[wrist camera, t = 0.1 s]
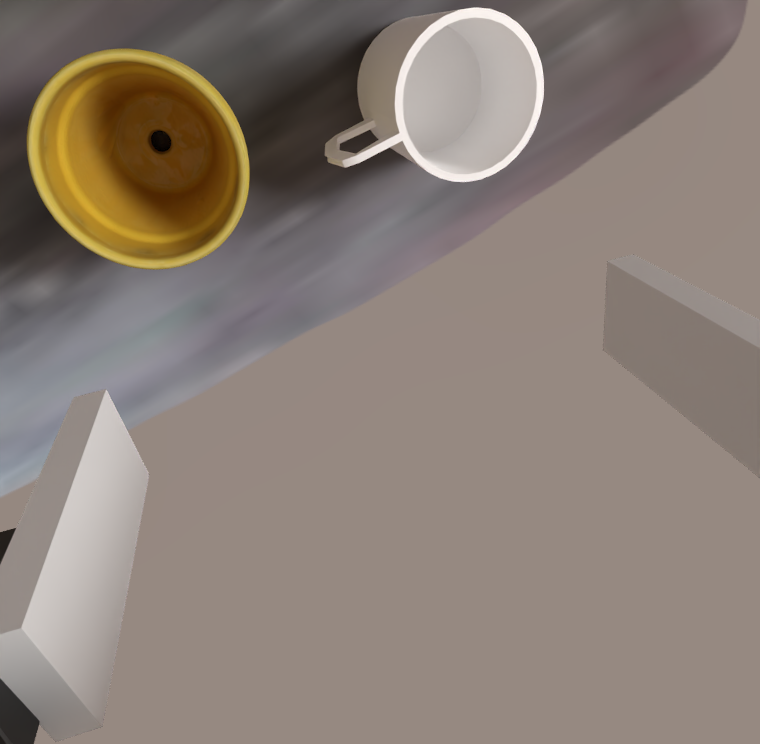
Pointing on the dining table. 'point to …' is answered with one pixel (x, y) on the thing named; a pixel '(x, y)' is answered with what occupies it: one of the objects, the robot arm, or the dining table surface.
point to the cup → (448, 94)
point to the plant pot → (138, 158)
